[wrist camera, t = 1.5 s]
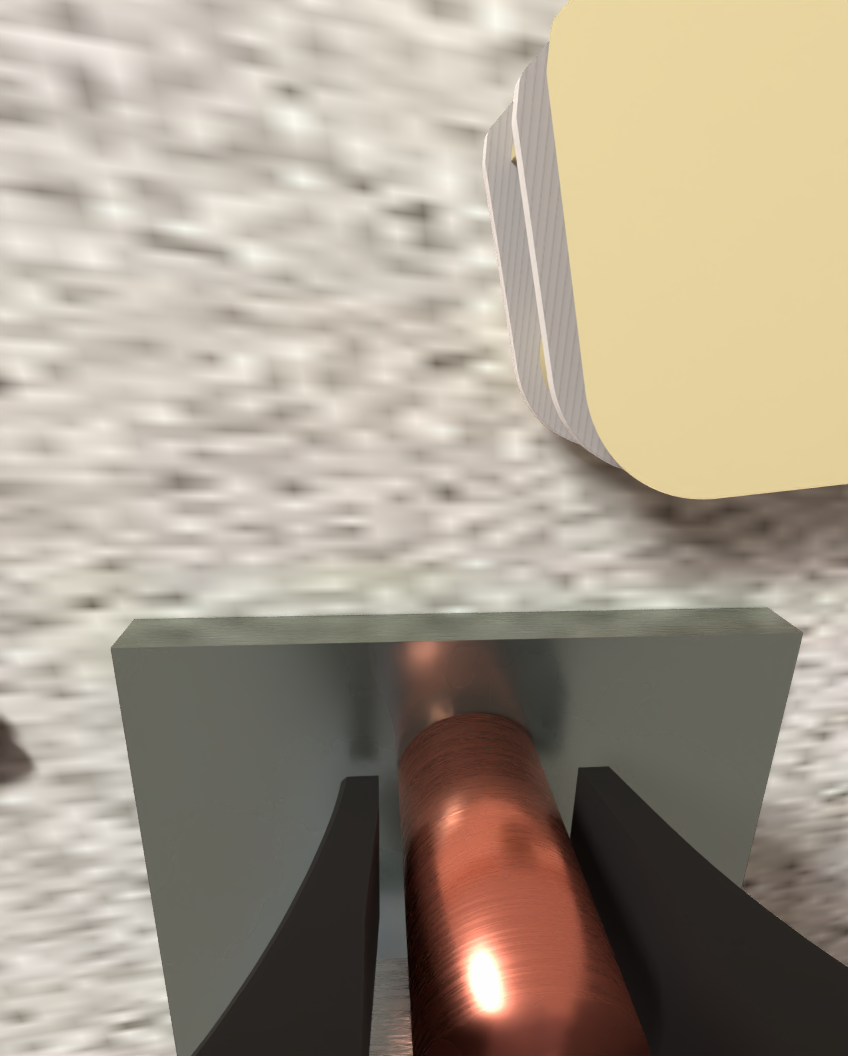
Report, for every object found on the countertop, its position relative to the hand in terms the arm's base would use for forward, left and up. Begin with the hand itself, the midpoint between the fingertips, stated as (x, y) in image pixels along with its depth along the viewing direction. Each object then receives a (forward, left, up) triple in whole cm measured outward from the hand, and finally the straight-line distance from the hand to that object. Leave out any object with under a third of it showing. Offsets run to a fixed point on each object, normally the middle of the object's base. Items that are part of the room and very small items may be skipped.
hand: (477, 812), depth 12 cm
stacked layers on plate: (+10, -3, -3) cm, 11 cm away
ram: (-2, 0, -1) cm, 2 cm away
